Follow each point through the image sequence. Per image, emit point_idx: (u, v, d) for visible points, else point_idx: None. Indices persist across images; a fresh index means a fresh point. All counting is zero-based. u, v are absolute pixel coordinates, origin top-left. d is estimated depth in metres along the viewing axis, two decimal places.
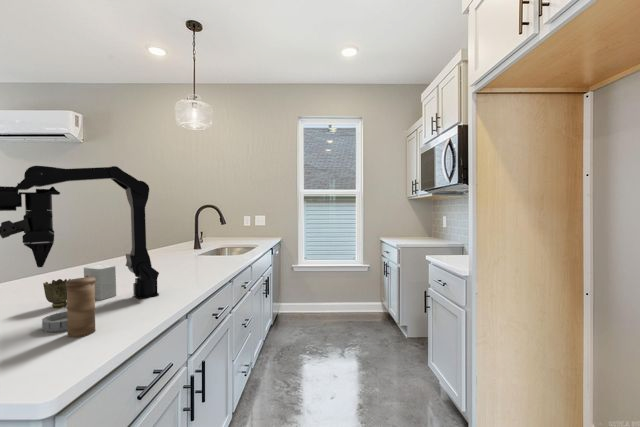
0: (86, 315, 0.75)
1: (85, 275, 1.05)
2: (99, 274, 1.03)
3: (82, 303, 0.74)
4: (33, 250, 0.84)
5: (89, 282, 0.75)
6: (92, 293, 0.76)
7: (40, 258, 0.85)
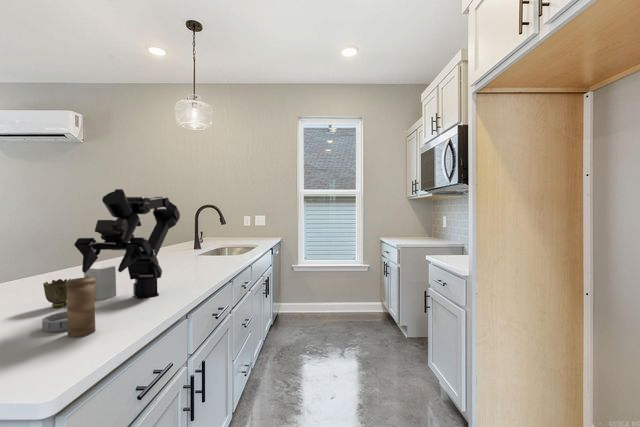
0: (86, 315, 0.75)
1: (85, 275, 1.05)
2: (99, 274, 1.03)
3: (82, 303, 0.74)
4: (130, 253, 0.87)
5: (89, 282, 0.75)
6: (92, 293, 0.76)
7: (126, 263, 0.86)
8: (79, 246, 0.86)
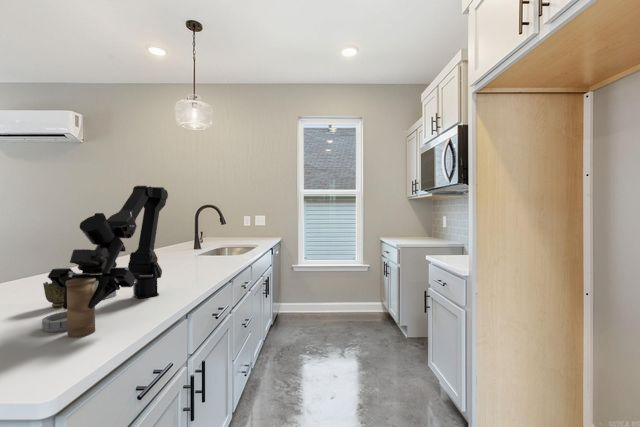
0: (86, 315, 0.75)
1: None
2: None
3: (82, 303, 0.74)
4: (103, 287, 0.78)
5: (89, 282, 0.75)
6: (92, 293, 0.76)
7: (98, 298, 0.77)
8: (60, 278, 0.77)
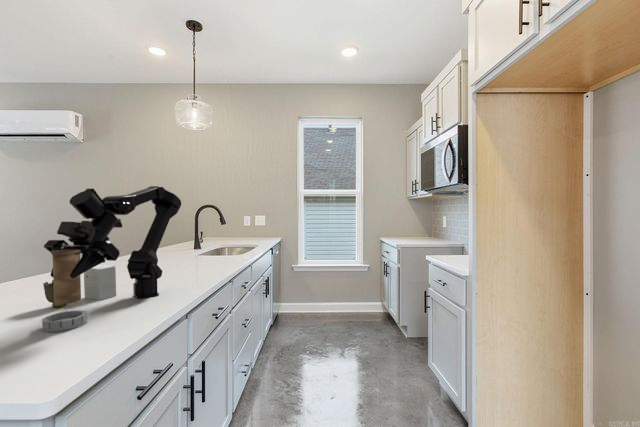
0: (69, 284, 0.78)
1: (85, 275, 1.05)
2: (99, 274, 1.03)
3: (64, 272, 0.78)
4: (86, 258, 0.80)
5: (71, 253, 0.78)
6: (75, 263, 0.79)
7: (81, 269, 0.80)
8: (52, 249, 0.82)
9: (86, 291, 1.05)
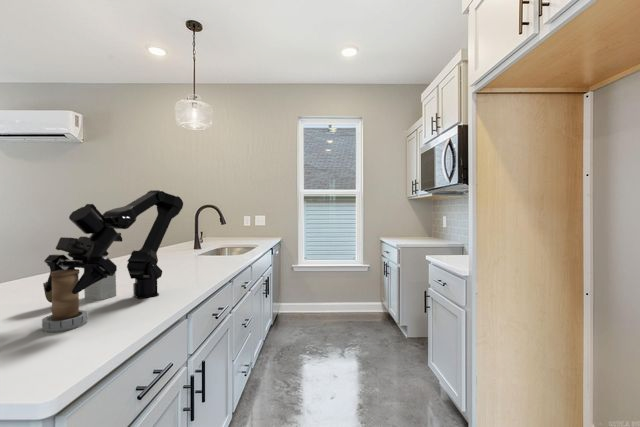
0: (66, 305, 0.79)
1: None
2: None
3: (62, 293, 0.79)
4: (88, 274, 0.81)
5: (69, 274, 0.79)
6: (73, 284, 0.80)
7: (83, 285, 0.80)
8: (48, 264, 0.84)
9: (86, 291, 1.05)
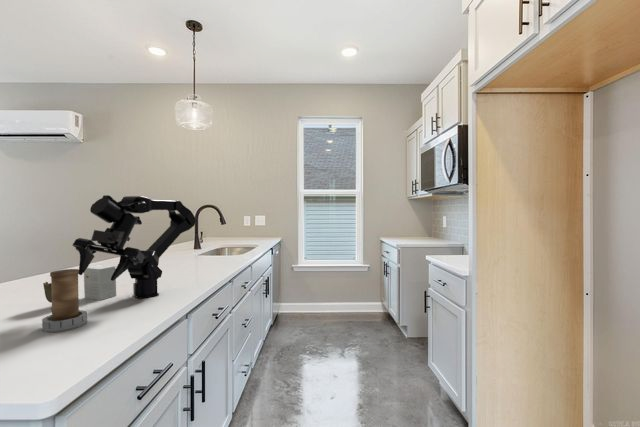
0: (66, 305, 0.79)
1: (85, 275, 1.05)
2: (99, 274, 1.03)
3: (61, 293, 0.79)
4: (124, 264, 0.93)
5: (69, 274, 0.79)
6: (73, 284, 0.80)
7: (119, 272, 0.92)
8: (77, 248, 0.91)
9: (86, 291, 1.05)
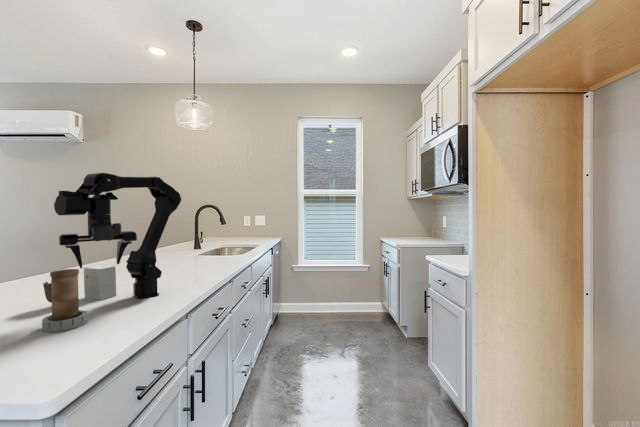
0: (66, 305, 0.79)
1: (85, 275, 1.05)
2: (99, 274, 1.03)
3: (62, 293, 0.79)
4: None
5: (69, 274, 0.79)
6: (73, 284, 0.80)
7: None
8: (69, 247, 0.87)
9: (86, 291, 1.05)
